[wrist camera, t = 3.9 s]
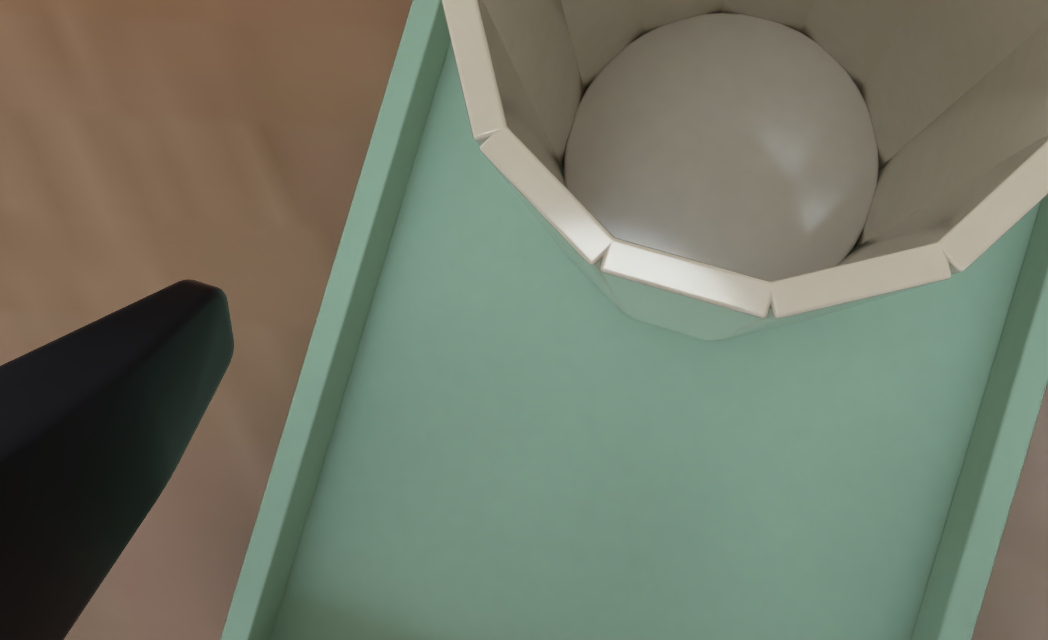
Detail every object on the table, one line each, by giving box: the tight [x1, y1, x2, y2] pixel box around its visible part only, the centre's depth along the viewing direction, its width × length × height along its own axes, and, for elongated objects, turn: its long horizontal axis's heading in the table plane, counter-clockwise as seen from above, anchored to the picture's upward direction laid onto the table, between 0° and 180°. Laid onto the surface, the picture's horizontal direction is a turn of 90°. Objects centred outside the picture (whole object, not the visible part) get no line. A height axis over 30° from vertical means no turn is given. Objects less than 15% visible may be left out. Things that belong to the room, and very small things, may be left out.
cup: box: [442, 0, 1048, 342], centre depth 15 cm, size 7×7×10 cm
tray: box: [220, 0, 1048, 640], centre depth 20 cm, size 19×14×2 cm
